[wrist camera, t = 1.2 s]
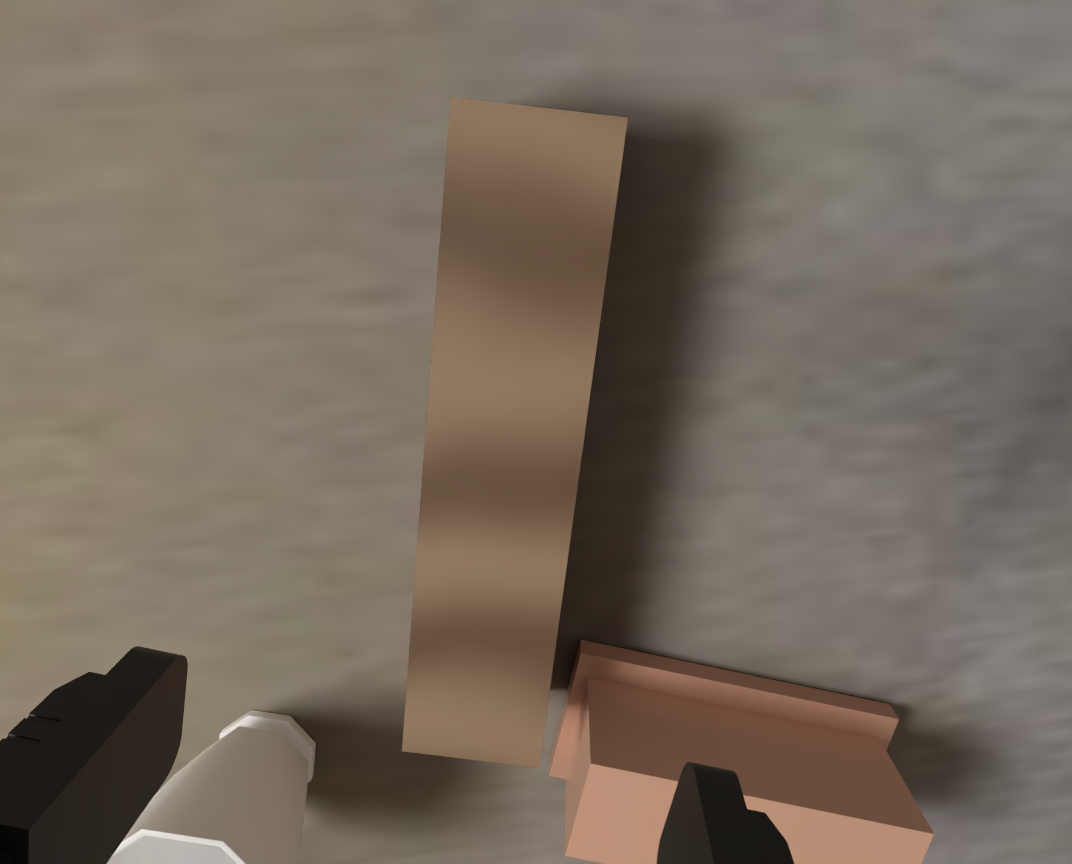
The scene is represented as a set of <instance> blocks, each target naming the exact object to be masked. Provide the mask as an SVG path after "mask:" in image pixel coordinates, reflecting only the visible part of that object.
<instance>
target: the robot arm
mask: <svg viewBox="0 0 1072 864" xmlns="http://www.w3.org/2000/svg"><path fill="white" fill-rule="evenodd" d="M187 667H188V665H187V659H186V657H185V656H182V655H178V654H173V653H168V652H163V651H158V650H153V649H149V648H144V647H138V646H137V647H134V648H132V649H131V650H130V651H129V652H128V653H127V654H126V655H125V656H124V657H123V658H122V659H121V660H120V661H119V662H118V663H117V664H116V665H115V666H114V667H113V668H112V669H111V670H110V671H109V672H108V673H107V674H106V675H102V674H97V673H93V672H88V673H86V674H84V675H82V676H80V677H78V678H76V679H74V680H72V681H71V682H69V683H67V684H65V685H63V686H61V687H59V688H57V689H55V690H54V691H53V692H51V693H50V694H49V695H48V696H47V697H46V698H45V699H44V700H43V701H42V702H41V703H40V704H39V705H38V706H37V707H36V708H35V709H34V710H32V711H31V712H30V713H29V717H28V718H27V719H26V718H24V719H23V720H22V721H21V722H20V723H19V724H18V725H17V726H16V727H15V728H14V729H12V730H11V731H10V732H9V733H8V737H7V738H6V739H2V740H1V741H0V864H107V862H108V861H109V859H110V858H111V857H112V855H113V854H114V852H115V851H116V849H117V848H118V847H119V845H120V844H121V842H122V841H123V839H124V838H125V837H126V835H127V834H128V832H129V831H130V829H131V828H132V827H133V825H134V824H135V822H136V821H137V819H138V818H139V817H140V815H141V814H142V812H143V811H144V809H145V808H146V807H147V805H148V804H149V802H150V801H151V799H152V798H153V797H154V795H155V794H156V792H157V791H158V789H159V788H160V786H161V785H162V784H163V782H164V781H165V779H166V778H167V776H168V774H169V772H170V770H171V768H172V766H173V764H174V761H175V759H176V756H177V753H178V750H179V746H180V741H181V735H182V724H183V713H184V702H185V691H186V680H187ZM657 864H794V861H793V858H792V855H791V852H790V849H789V846H788V843H787V841H786V840H785V838H784V837H783V836H782V834H781V833H780V832H779V830H778V829H777V828H776V826H775V825H774V824H773V822H772V821H771V820H770V818H769V817H768V816H767V814H766V813H764V812H759V811H755V810H750V809H747V807H746V803H745V800H744V796H743V793H742V789H741V786H740V782H739V779H738V776H737V774H736V773H735V772H734V771H731V770H726V769H722V768H717V767H712V766H707V765H702V764H697V763H693V762H687V763H686V764H685V765H684V767H683V769H682V772H681V775H680V778H679V781H678V784H677V787H676V791H675V794H674V797H673V800H672V803H671V806H670V809H669V812H668V816H667V819H666V822H665V825H664V828H663V831H662V834H661V838H660V842H659V847H658V854H657Z"/></svg>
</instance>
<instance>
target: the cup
mask: <svg viewBox="0 0 1072 864" xmlns="http://www.w3.org/2000/svg"><path fill="white" fill-rule="evenodd" d="M315 748H316V743H315V742H314V741H313V740H312V738H311V737H310V736H309V735H308V734H307V733H306V732H305V731H304V730H303V729H302V728H301V727H300V726H299V725H298V724H297V723H296V721H295V720H294V719H293V718H292V717H291V716H288V715H281V714H275V713H268V712H261V711H255V710H251V711H249V712H248V713H246V714H245V715H243V716H242V717H240V718H239V719H237V720H236V721H234V722H233V723H231V724H230V725H229V726H227V727H226V728H224V729H223V730H222V732H221V733H220V739H219V740H218V741H216V742H215V743H213V744H212V745H211V746H209V747H208V748H207V749H205V750H204V751H203V752H202V753H200V754H199V755H198V756H197V757H196V758H194V759H193V760H192V761H191V762H190V763H188V764H187V765H186V766H185V767H183V768H182V769H181V770H180V771H179V772H177V773H176V774H175V775H174V776H173V777H172V778H171V779H170V780H169V781H168V782H167V783H166V784H165V785H164V786H163V787H162V788H161V789H160V790H159V791H158V792H157V793H156V794H155V795H154V797H153V798H152V799H151V801H150V802H149V804H148V805H147V807H146V808H145V809H144V811H143V812H142V814H141V815H140V817H139V818H138V819H137V821H136V822H135V824H134V825H133V827H132V828H131V829H130V831H129V832H128V834H127V835H126V837H125V838H124V839H123V841H122V842H121V844H120V845H119V847H118V848H117V849H116V851H115V852H114V854H113V855H112V857H111V858H110V859H109V861H108V862H107V864H296V860H297V856H298V852H299V847H300V843H301V839H302V830H303V822H304V813H305V805H306V796H307V783H308V782H310V781H311V779H312V777H313V774H314V761H315Z"/></svg>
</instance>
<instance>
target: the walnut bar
mask: <svg viewBox="0 0 1072 864" xmlns="http://www.w3.org/2000/svg"><path fill="white" fill-rule="evenodd" d="M627 121H628V118H627V117H619V116H610V115H602V114H593V113H584V112H576V111H567V110H559V109H550V108H542V107H533V106H524V105H516V104H507V103H499V102H490V101H481V100H473V99H464V98H456V97H451V100H450V114H449V127H448V140H447V154H446V167H445V180H444V194H443V207H442V221H441V234H440V247H439V261H438V274H437V287H436V301H435V314H434V327H433V341H432V354H431V368H430V381H429V394H428V408H427V421H426V434H425V448H424V461H423V475H422V488H421V501H420V515H419V528H418V541H417V555H416V568H415V581H414V595H413V608H412V622H411V635H410V648H409V662H408V675H407V688H406V702H405V715H404V728H403V742H402V751H404V752H412V753H421V754H429V755H437V756H445V757H453V758H461V759H469V760H477V761H485V762H493V763H501V764H509V765H518V766H526V767H534V768H539V766H540V758H541V751H542V744H543V736H544V729H545V722H546V714H547V707H548V700H549V693H550V685H551V678H552V671H553V663H554V656H555V649H556V641H557V634H558V627H559V619H560V612H561V605H562V597H563V590H564V583H565V575H566V568H567V561H568V553H569V546H570V539H571V531H572V524H573V517H574V509H575V502H576V495H577V487H578V480H579V473H580V466H581V458H582V451H583V444H584V436H585V429H586V422H587V414H588V407H589V400H590V392H591V385H592V378H593V370H594V363H595V356H596V348H597V341H598V334H599V326H600V319H601V312H602V304H603V297H604V290H605V282H606V275H607V268H608V260H609V253H610V246H611V239H612V231H613V224H614V217H615V209H616V202H617V195H618V187H619V180H620V173H621V165H622V158H623V151H624V143H625V136H626V129H627Z"/></svg>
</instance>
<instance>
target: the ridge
mask: <svg viewBox="0 0 1072 864" xmlns="http://www.w3.org/2000/svg"><path fill="white" fill-rule="evenodd" d="M898 721H899V718H898V717H897V715H896V714H895V712H894V710H893V709H892V707H891V706H890V704H887V703H883V702H878V701H873V700H868V699H863V698H859V697H854V696H849V695H844V694H839V693H835V692H830V691H825V690H820V689H815V688H811V687H806V686H801V685H796V684H791V683H787V682H782V681H777V680H772V679H767V678H763V677H758V676H753V675H748V674H743V673H739V672H734V671H729V670H724V669H720V668H715V667H710V666H705V665H700V664H696V663H691V662H686V661H681V660H676V659H672V658H667V657H662V656H657V655H652V654H648V653H643V652H638V651H633V650H628V649H624V648H619V647H614V646H609V645H604V644H600V643H595V642H590V641H585V640H580V644H579V648H578V652H577V655H576V659H575V663H574V667H573V671H572V675H571V679H570V683H569V686H568V690H567V694H566V698H565V702H564V706H563V710H562V714H561V718H560V721H559V725H558V729H557V733H556V737H555V741H554V745H553V749H552V753H551V756H550V766H549V776H552V777H557V778H562V779H566V812H565V856H569V857H574V858H578V859H583V860H588V861H593V862H598V863H603V864H657V854H658V847H659V842H660V838H661V834H662V831H663V828H664V825H665V822H666V819H667V816H668V812H669V809H670V806H671V803H672V800H673V797H674V794H675V791H676V787H677V784H678V781H679V778H680V775H681V772H682V769H683V767H684V765H685V764H686V763H687V762H693V763H697V764H702V765H707V766H712V767H717V768H722V769H726V770H731V771H734V772H735V773H736V774H737V776H738V779H739V782H740V786H741V789H742V793H743V796H744V800H745V803H746V807H747V809H750V810H755V811H759V812H764V813H766V814H767V816H768V817H769V818H770V820H771V821H772V822H773V824H774V825H775V826H776V828H777V829H778V830H779V832H780V833H781V834H782V836H783V837H784V838H785V840H786V841H787V843H788V846H789V849H790V852H791V855H792V858H793V861H794V864H921V863H922V860H923V858H924V856H925V854H926V852H927V849H928V847H929V845H930V843H931V840H932V838H933V836H934V833H933V831H932V829H931V828H930V826H929V824H928V822H927V821H926V819H925V817H924V816H923V814H922V812H921V810H920V809H919V807H918V805H917V803H916V802H915V800H914V798H913V796H912V795H911V793H910V791H909V789H908V788H907V786H906V784H905V782H904V781H903V779H902V777H901V775H900V774H899V772H898V770H897V768H896V767H895V765H894V763H893V761H892V760H891V758H890V756H889V755H888V753H887V748H888V746H889V743H890V741H891V738H892V736H893V733H894V731H895V728H896V726H897V724H898Z"/></svg>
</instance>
